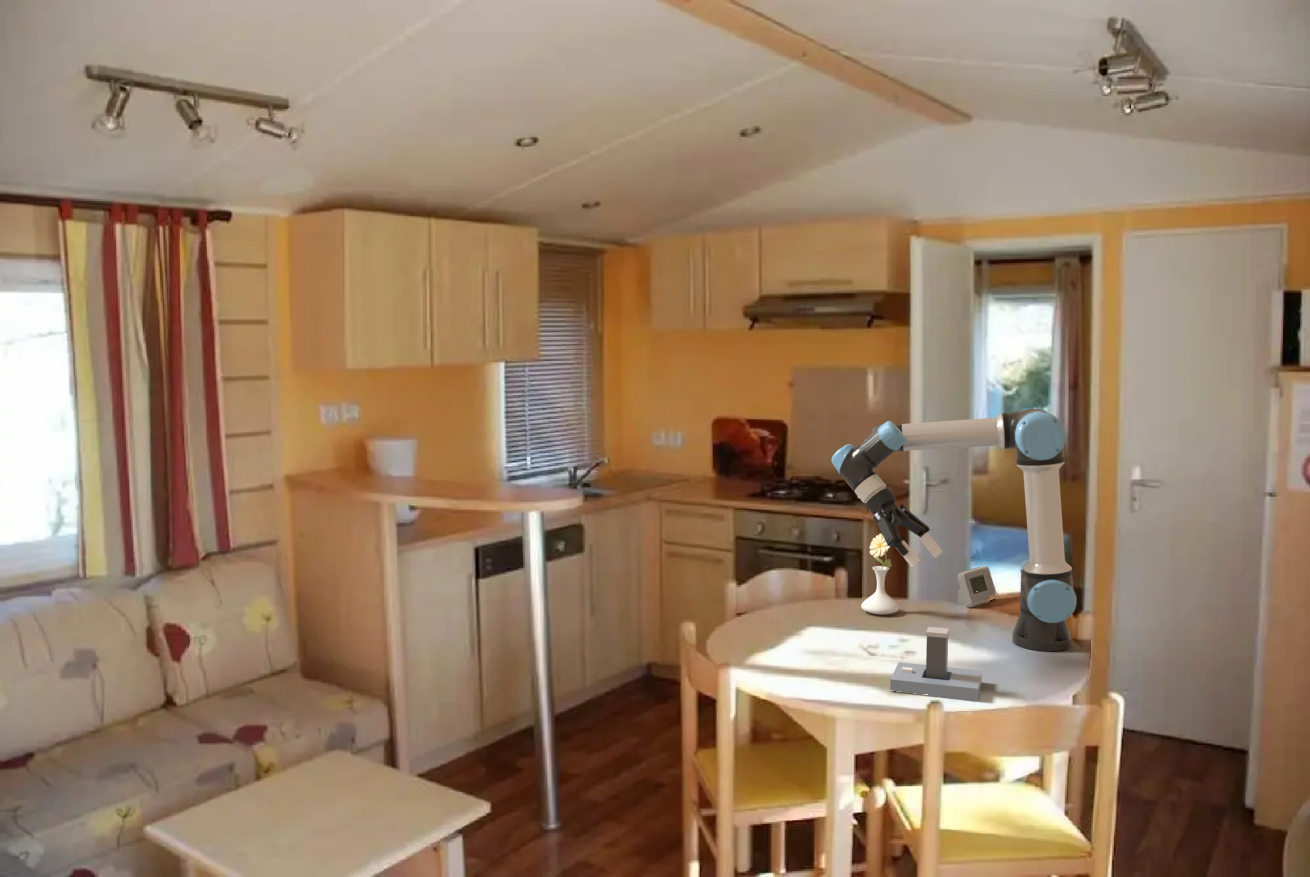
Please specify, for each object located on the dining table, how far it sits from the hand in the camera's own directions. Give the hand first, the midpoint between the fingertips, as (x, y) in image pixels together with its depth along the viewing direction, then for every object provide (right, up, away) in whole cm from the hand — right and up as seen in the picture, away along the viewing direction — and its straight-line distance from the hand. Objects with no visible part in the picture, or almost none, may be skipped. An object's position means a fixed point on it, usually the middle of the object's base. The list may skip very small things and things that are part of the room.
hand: (928, 559), depth 274 cm
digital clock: (+31, -21, +61) cm, 72 cm away
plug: (-2, -29, -17) cm, 33 cm away
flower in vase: (-2, -22, +50) cm, 54 cm away
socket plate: (-2, -29, -17) cm, 33 cm away
